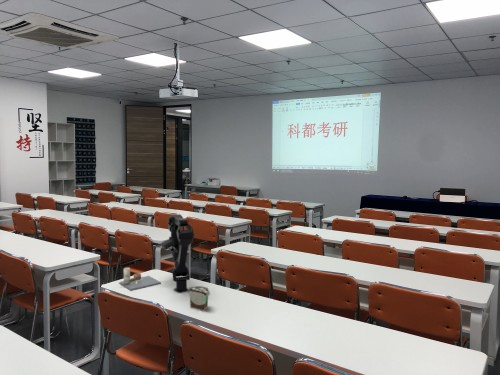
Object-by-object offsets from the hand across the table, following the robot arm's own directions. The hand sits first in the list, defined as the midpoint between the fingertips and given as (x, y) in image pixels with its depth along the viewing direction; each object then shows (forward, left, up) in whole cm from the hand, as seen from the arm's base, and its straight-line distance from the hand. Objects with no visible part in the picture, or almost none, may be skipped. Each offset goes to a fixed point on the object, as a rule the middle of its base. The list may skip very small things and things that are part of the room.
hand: (174, 260), depth 234 cm
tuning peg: (+14, +21, -12) cm, 28 cm away
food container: (-43, +9, -14) cm, 46 cm away
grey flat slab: (+10, +18, -13) cm, 24 cm away
